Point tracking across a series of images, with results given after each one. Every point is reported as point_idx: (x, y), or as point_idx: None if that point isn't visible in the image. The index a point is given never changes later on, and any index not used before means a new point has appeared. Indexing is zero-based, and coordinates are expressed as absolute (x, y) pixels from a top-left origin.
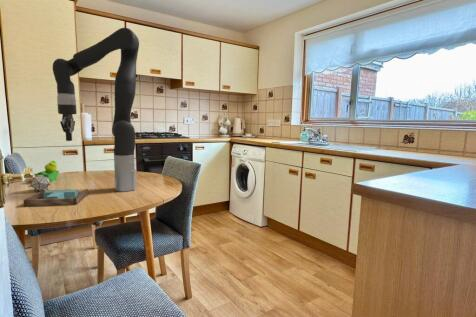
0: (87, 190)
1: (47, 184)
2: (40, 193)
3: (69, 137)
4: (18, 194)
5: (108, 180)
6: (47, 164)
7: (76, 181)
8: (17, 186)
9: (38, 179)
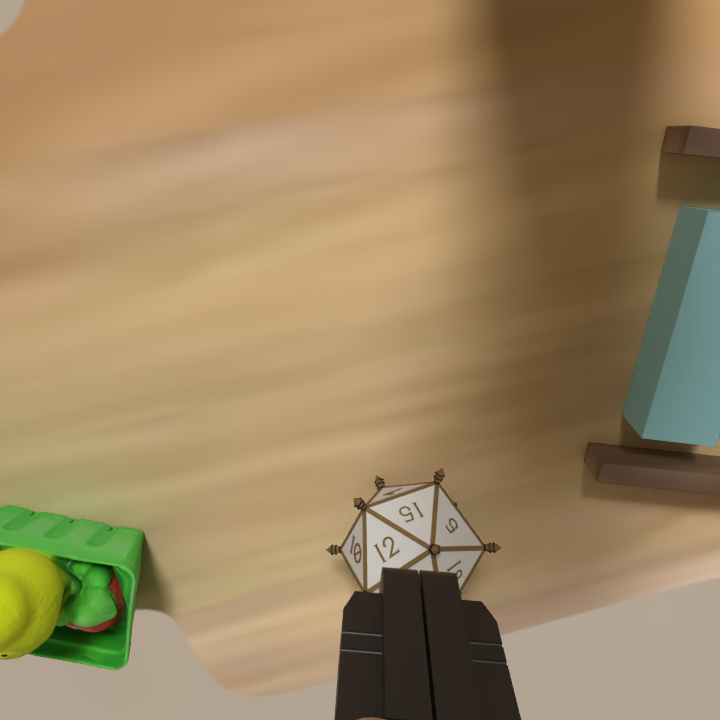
0: (704, 127)
1: (444, 490)
2: (670, 468)
3: (501, 648)
4: None
5: (59, 17)
6: (11, 651)
7: (86, 335)
8: (223, 678)
9: (462, 570)
